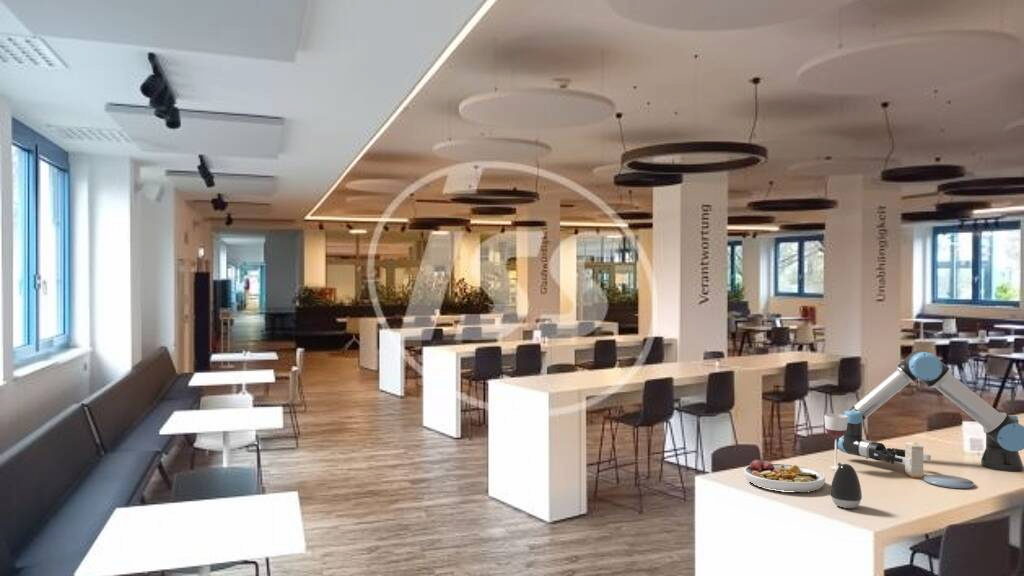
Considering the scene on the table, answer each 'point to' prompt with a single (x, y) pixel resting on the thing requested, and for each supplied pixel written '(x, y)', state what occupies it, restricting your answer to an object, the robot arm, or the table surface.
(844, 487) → the black egg-shaped piece
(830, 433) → the wineglass
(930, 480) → the dish
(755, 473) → the bowl
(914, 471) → the supplement box
